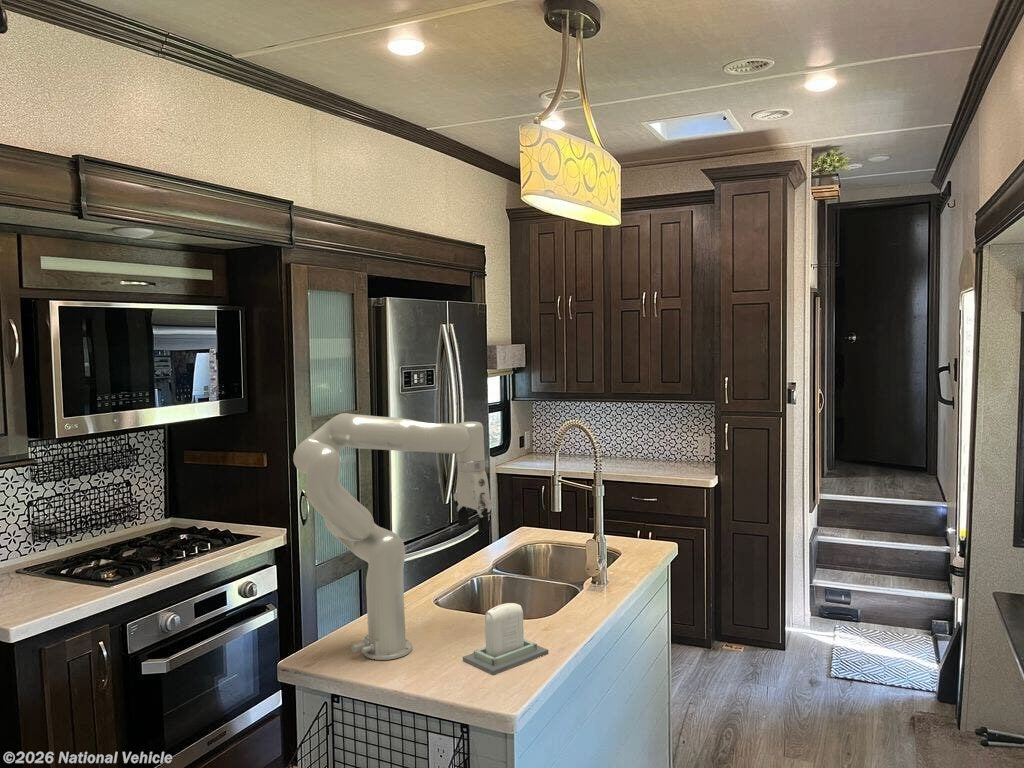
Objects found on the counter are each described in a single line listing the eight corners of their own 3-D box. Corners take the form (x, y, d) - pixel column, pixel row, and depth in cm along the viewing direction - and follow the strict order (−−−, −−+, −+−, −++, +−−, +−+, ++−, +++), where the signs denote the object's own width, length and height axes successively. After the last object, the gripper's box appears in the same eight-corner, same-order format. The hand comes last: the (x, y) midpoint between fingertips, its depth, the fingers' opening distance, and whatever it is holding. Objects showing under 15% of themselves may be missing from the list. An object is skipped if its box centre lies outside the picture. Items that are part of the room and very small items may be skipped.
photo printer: (517, 645, 201) (515, 598, 200) (526, 650, 197) (525, 602, 197) (483, 655, 195) (481, 607, 194) (492, 661, 192) (491, 611, 191)
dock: (493, 675, 186) (492, 664, 186) (462, 660, 195) (462, 650, 195) (548, 653, 198) (548, 643, 197) (517, 641, 207) (516, 631, 207)
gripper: (500, 468, 211) (503, 531, 212) (464, 462, 225) (467, 520, 226) (478, 471, 207) (480, 535, 208) (442, 465, 220) (445, 525, 221)
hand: (473, 528), depth 217 cm, fingers open, 9 cm apart
